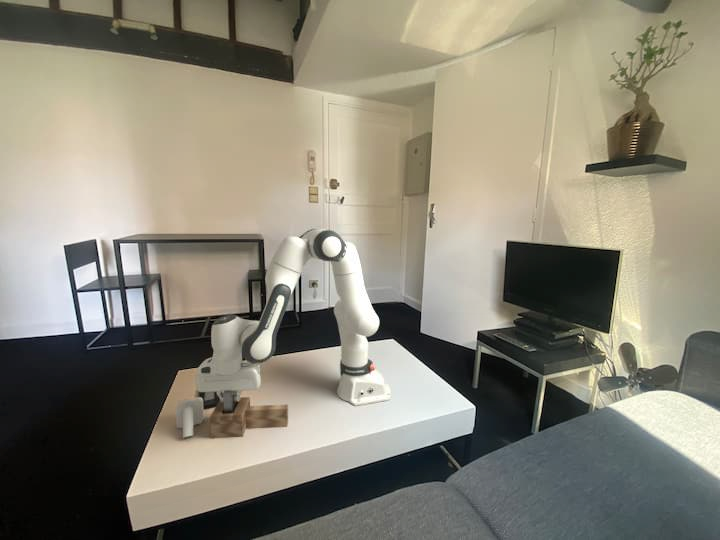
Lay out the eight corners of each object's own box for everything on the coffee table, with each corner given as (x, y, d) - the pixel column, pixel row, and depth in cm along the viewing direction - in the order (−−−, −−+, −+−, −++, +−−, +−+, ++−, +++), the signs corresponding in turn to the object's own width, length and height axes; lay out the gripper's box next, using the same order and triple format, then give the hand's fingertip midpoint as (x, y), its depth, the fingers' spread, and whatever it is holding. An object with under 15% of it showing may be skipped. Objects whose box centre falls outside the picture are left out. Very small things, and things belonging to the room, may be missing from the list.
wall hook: (173, 443, 95) (171, 412, 95) (178, 430, 104) (177, 401, 105) (201, 436, 98) (200, 406, 99) (204, 424, 108) (202, 396, 108)
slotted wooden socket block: (289, 415, 110) (289, 395, 109) (285, 434, 101) (285, 413, 99) (222, 418, 108) (220, 398, 107) (211, 438, 98) (209, 416, 97)
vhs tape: (220, 387, 128) (219, 383, 127) (220, 407, 115) (219, 402, 115) (200, 391, 125) (200, 387, 124) (198, 412, 112) (197, 407, 112)
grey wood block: (237, 408, 106) (236, 382, 104) (232, 419, 100) (230, 392, 98) (230, 408, 106) (228, 383, 104) (224, 420, 100) (222, 393, 98)
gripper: (262, 358, 104) (263, 394, 106) (200, 359, 102) (203, 396, 104) (257, 367, 97) (259, 405, 100) (192, 369, 95) (195, 408, 98)
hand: (230, 400), depth 102 cm, fingers open, 3 cm apart
